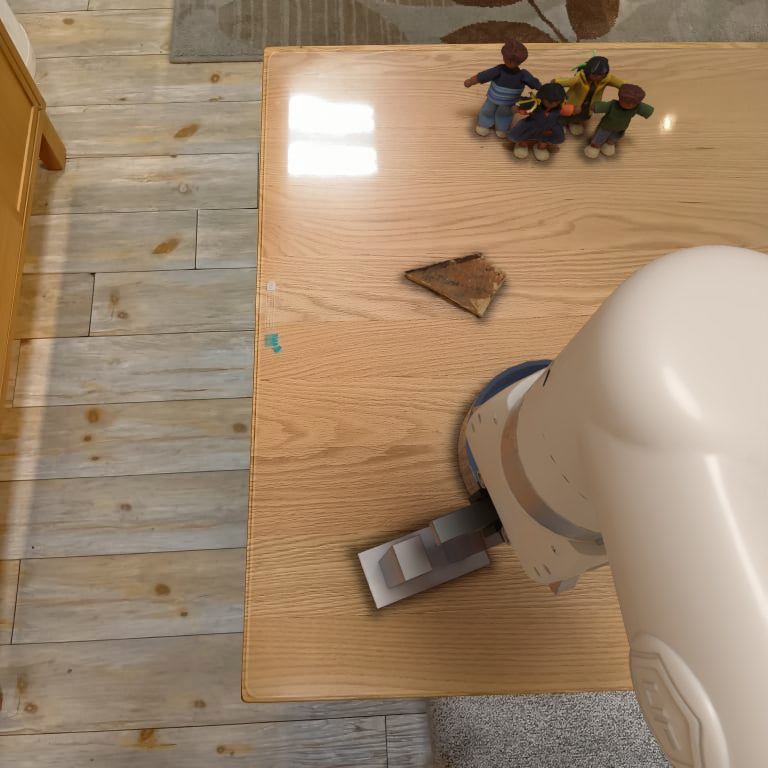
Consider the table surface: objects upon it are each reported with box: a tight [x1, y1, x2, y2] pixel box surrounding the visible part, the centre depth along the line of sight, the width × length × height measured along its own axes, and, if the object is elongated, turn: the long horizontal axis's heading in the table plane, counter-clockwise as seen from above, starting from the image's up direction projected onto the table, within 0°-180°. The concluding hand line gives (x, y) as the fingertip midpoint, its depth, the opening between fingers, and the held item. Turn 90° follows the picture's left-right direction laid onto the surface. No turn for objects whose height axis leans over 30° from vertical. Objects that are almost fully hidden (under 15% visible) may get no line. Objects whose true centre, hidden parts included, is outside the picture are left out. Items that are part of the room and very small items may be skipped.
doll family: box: [463, 39, 655, 162], centre depth 86 cm, size 23×9×13 cm, turn 99°
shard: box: [404, 252, 508, 318], centre depth 84 cm, size 11×8×2 cm
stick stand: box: [356, 525, 506, 610], centre depth 64 cm, size 6×13×20 cm, turn 111°
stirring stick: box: [428, 498, 500, 546], centre depth 45 cm, size 2×10×2 cm, turn 112°
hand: (496, 509), depth 47 cm, fingers closed on stirring stick, 1 cm apart
